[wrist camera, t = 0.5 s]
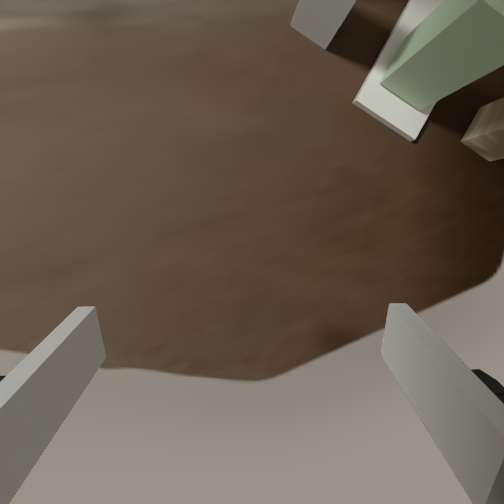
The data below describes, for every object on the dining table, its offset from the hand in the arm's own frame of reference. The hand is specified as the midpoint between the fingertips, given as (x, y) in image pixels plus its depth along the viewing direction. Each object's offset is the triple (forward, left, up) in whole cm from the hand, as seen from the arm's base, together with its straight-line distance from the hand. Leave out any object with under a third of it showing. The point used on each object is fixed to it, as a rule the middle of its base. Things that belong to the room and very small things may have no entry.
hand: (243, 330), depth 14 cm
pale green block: (-22, +23, -23) cm, 39 cm away
